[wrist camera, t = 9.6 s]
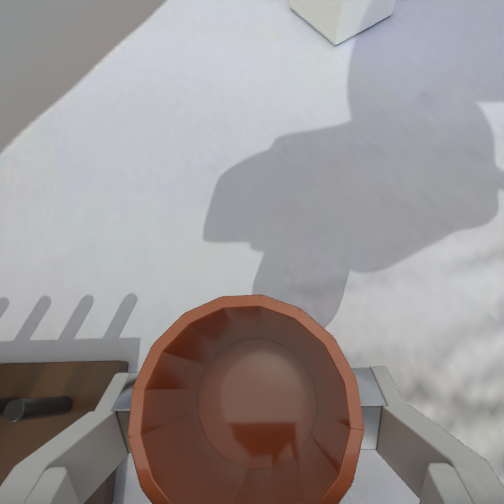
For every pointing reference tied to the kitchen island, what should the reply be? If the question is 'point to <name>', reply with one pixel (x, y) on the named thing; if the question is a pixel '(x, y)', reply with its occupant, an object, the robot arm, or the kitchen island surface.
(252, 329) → the cup
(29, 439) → the rack
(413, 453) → the robot arm
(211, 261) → the kitchen island surface
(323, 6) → the milk carton
